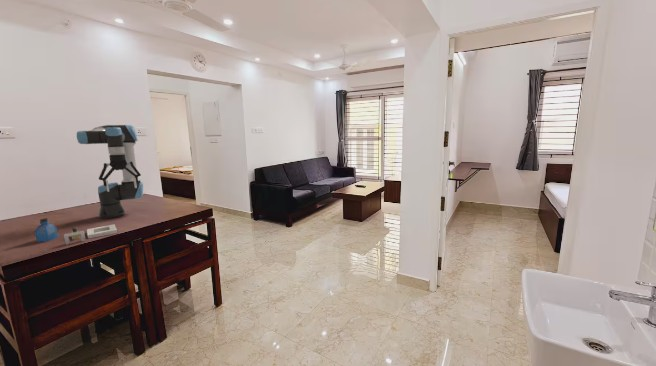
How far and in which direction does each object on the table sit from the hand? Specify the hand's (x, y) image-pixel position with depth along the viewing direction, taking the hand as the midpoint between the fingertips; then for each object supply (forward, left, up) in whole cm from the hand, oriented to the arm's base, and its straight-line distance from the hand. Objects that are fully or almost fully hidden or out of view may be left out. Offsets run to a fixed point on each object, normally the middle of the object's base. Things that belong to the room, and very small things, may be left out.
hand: (122, 189), depth 169 cm
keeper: (+3, -24, -26) cm, 36 cm away
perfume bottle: (-14, -36, -26) cm, 47 cm away
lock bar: (-7, -24, -26) cm, 36 cm away
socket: (-6, -12, -26) cm, 29 cm away
